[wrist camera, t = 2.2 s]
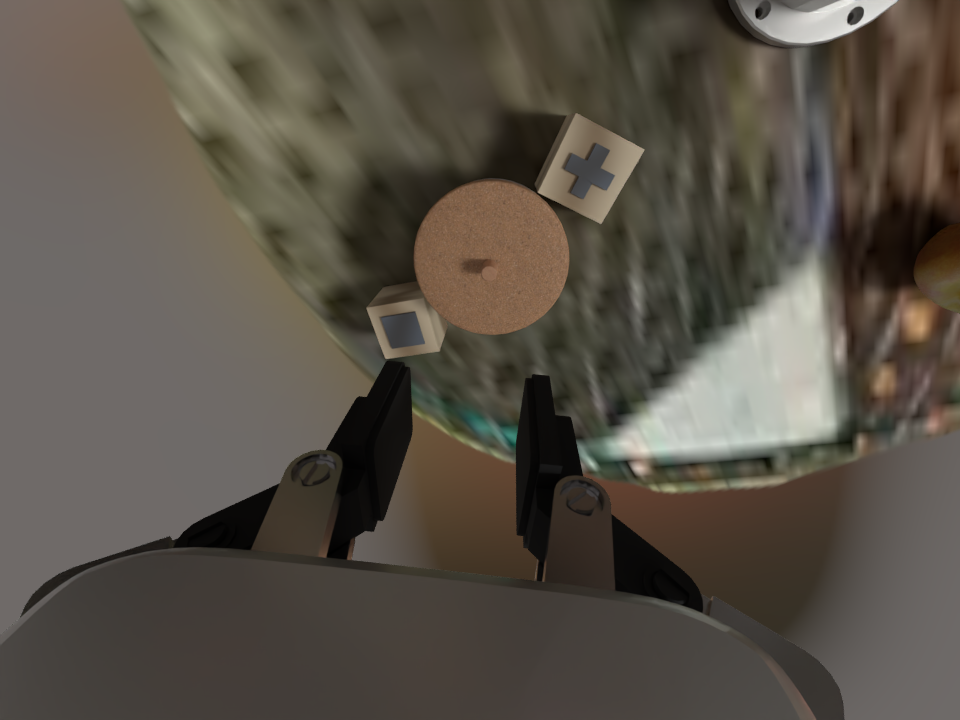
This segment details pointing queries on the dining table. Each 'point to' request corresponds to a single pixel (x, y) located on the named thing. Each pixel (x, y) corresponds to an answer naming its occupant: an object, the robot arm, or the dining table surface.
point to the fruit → (941, 268)
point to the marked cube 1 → (406, 321)
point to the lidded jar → (491, 256)
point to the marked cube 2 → (587, 167)
